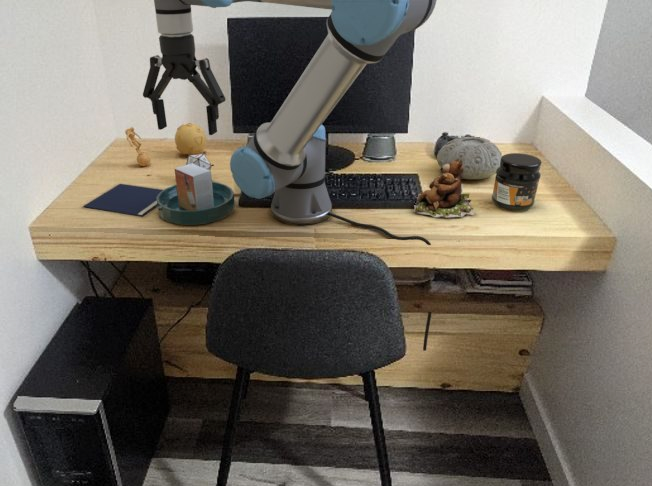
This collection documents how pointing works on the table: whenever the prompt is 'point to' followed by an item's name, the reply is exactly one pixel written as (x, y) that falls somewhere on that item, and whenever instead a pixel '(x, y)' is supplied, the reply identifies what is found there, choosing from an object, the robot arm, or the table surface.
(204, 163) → the game die
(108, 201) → the book
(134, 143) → the figurine
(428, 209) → the bear figurine
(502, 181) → the supplement container
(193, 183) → the small box
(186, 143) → the stress ball
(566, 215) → the table surface
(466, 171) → the decorative shell
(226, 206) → the bowl
